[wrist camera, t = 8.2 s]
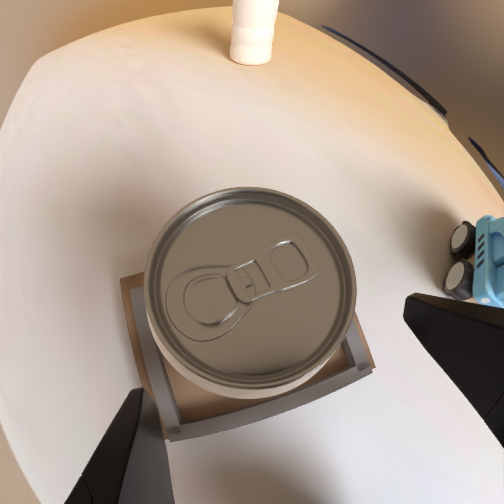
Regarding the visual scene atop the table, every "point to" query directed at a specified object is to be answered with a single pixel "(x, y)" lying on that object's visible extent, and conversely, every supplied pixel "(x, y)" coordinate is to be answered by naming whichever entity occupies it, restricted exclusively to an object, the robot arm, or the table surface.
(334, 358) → the dock
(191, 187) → the table surface
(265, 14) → the water bottle
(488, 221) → the toy excavator
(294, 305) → the can
